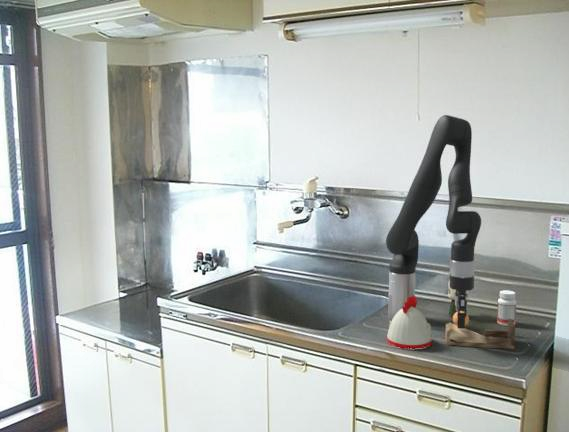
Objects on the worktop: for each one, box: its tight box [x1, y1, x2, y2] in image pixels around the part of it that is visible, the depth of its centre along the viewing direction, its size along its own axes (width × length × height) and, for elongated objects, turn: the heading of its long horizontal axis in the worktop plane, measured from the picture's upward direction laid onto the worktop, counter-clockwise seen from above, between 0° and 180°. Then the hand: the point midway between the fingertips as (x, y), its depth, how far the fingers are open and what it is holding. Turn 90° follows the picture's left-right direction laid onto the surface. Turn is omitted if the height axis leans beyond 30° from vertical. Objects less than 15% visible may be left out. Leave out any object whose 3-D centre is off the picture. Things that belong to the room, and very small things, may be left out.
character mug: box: [447, 279, 470, 317], centre depth 227 cm, size 11×7×13 cm, turn 151°
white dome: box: [386, 295, 432, 349], centre depth 200 cm, size 14×14×15 cm
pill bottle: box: [496, 289, 517, 327], centre depth 218 cm, size 6×6×11 cm
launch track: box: [445, 319, 516, 350], centre depth 200 cm, size 20×9×9 cm, turn 78°
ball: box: [452, 311, 470, 326], centre depth 201 cm, size 5×5×5 cm
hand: (460, 325), depth 201 cm, fingers closed on ball, 5 cm apart
